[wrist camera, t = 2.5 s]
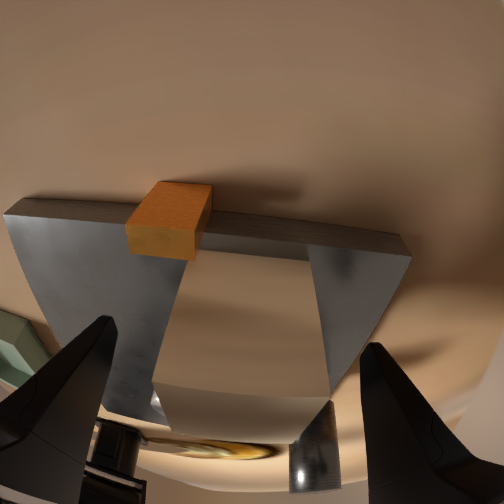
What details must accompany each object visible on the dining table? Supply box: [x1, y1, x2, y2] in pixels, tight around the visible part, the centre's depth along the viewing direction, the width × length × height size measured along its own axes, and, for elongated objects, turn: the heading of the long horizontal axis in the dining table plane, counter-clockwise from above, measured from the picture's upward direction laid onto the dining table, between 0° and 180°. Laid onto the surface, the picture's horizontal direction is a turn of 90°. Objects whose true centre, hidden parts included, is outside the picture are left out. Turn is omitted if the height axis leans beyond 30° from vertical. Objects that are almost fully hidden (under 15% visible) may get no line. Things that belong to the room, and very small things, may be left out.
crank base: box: [3, 181, 412, 426], centre depth 15 cm, size 21×17×3 cm
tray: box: [0, 310, 52, 389], centre depth 18 cm, size 12×12×2 cm
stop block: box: [152, 250, 331, 444], centre depth 9 cm, size 4×4×5 cm
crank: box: [151, 389, 341, 495], centre depth 13 cm, size 10×4×6 cm, turn 84°
